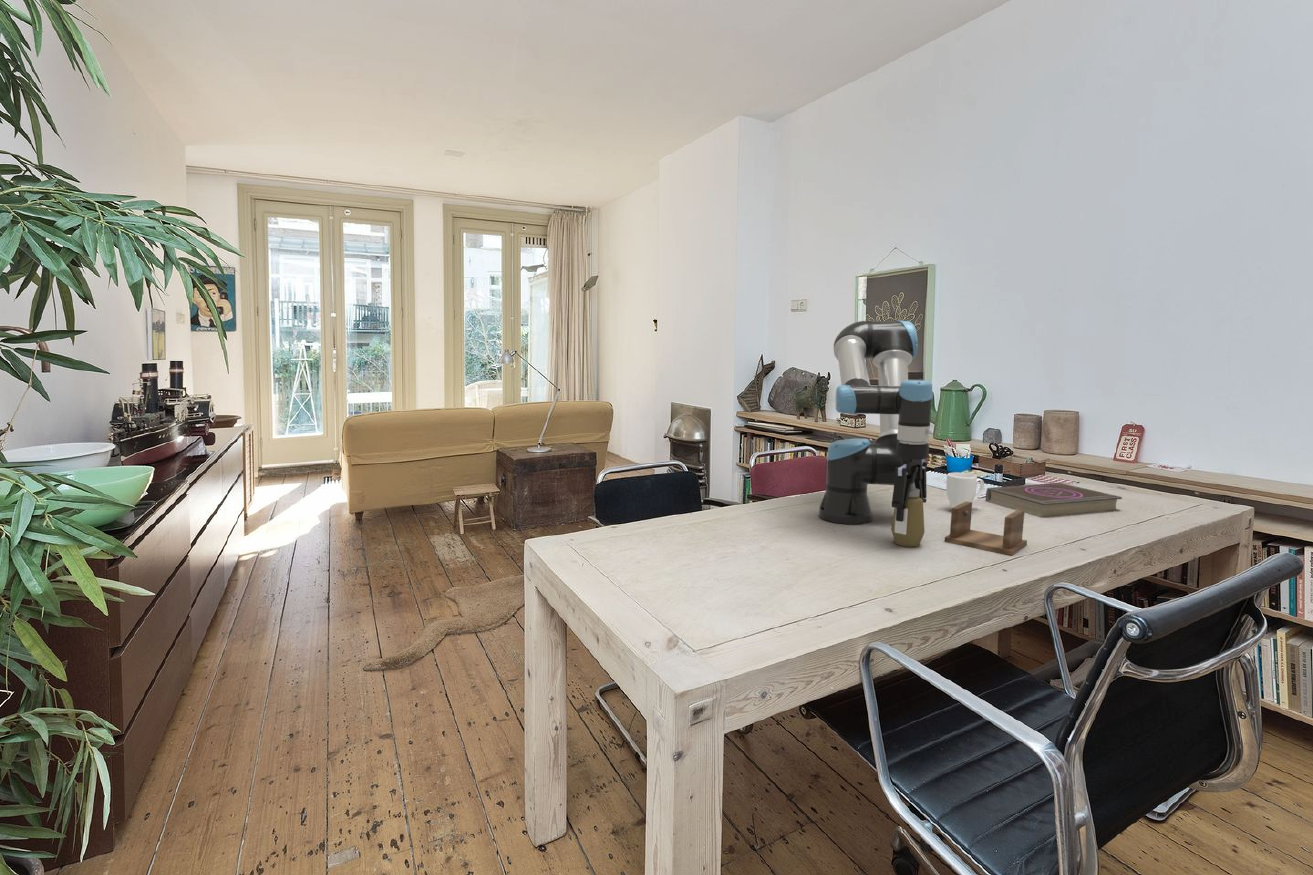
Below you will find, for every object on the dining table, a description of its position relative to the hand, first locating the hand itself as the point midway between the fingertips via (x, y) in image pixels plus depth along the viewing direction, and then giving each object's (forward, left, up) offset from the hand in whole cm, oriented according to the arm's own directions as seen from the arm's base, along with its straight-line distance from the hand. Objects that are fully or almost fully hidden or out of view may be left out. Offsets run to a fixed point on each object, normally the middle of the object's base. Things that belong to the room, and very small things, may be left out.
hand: (907, 529), depth 163 cm
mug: (-2, +46, -4) cm, 46 cm away
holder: (+14, +15, -4) cm, 21 cm away
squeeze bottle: (0, 0, -4) cm, 4 cm away
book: (+15, +73, -5) cm, 74 cm away
